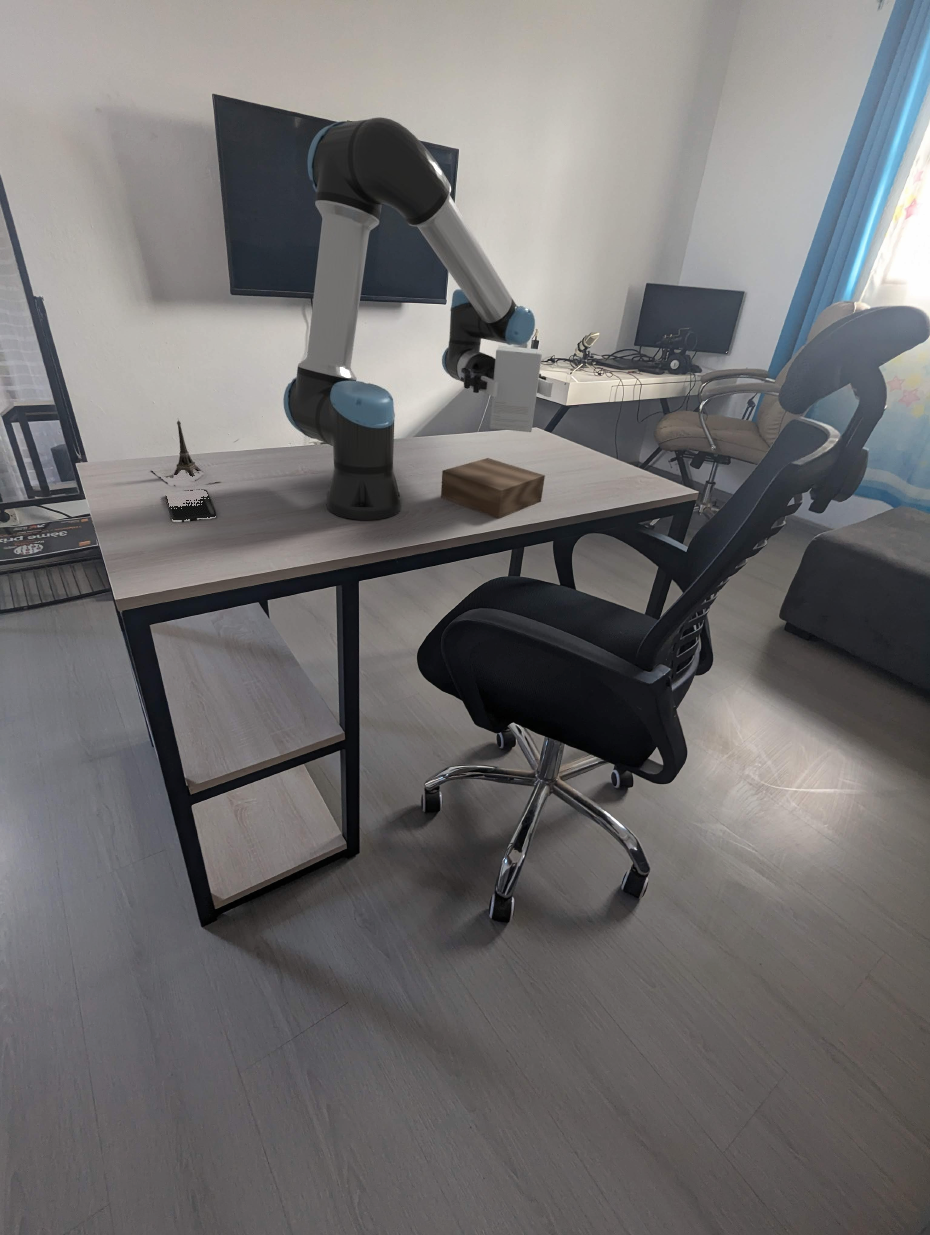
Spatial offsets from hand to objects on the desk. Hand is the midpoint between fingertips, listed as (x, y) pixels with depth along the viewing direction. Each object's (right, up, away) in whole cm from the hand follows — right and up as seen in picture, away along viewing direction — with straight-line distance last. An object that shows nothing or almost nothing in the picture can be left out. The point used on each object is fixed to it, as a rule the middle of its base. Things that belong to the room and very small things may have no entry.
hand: (523, 389), depth 117 cm
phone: (-65, -24, -3) cm, 70 cm away
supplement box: (-2, -5, +7) cm, 9 cm away
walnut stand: (-6, -19, +14) cm, 24 cm away
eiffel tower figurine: (-73, -15, +12) cm, 75 cm away
